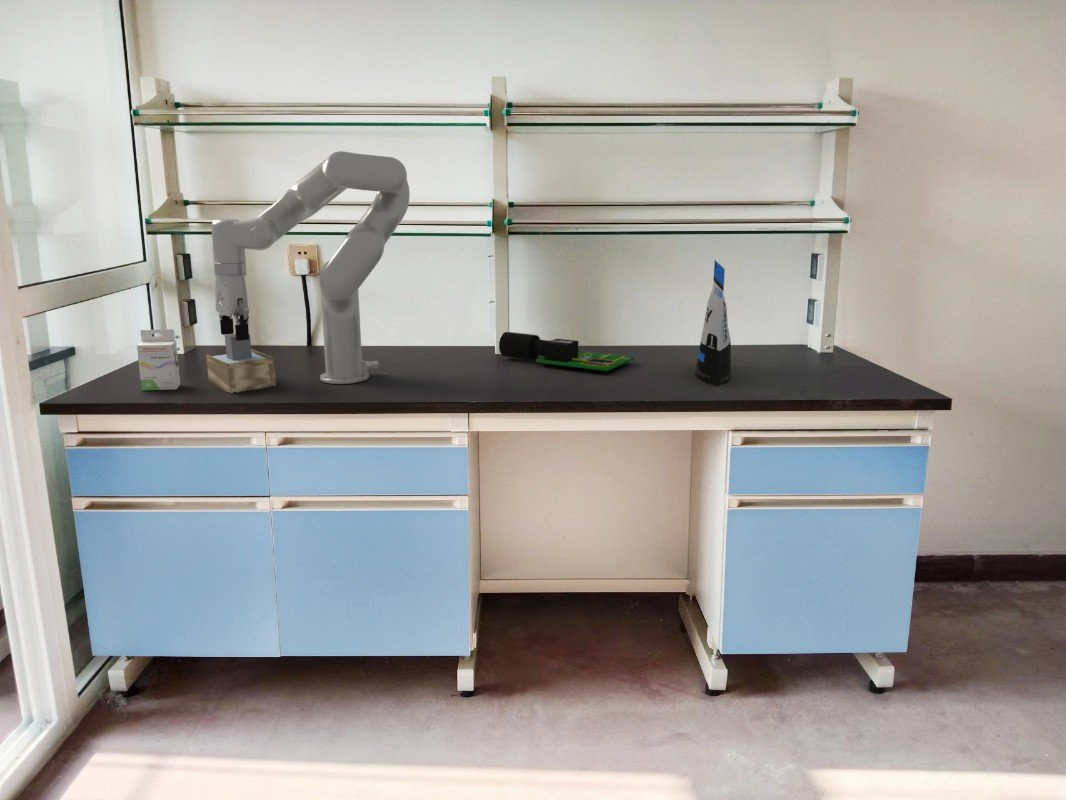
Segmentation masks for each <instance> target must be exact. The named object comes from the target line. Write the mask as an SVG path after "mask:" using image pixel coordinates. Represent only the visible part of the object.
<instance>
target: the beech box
mask: <svg viewBox="0 0 1066 800" xmlns="http://www.w3.org/2000/svg"><path fill="white" fill-rule="evenodd" d="M251 351H252V353H254V354H257V355H259V356H262V357H265V358H263V359H256V360H249V361H242V362H235V363H226V362H224V361H221V360H219V359H216V358H214V357H212V356H213V355H212V356H211V355H210V354H206V367H207V376H208V383H209V384H210V385H212V386H214V387H216V388H218V389H221V390H222V391H224V392H226V393H228V392H229V394H234V392H236V393H241V391H242V392H248V391H252V390H258V389H265V388H270V387H276V386H277V381H276V370H275V358H274V357H273V356H272V355H269V354H266V353H263V352H260V351H257V350H255V349H252V348H251ZM247 390H248V391H247Z"/></svg>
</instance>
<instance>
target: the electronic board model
mask: <svg viewBox="0 0 1066 800" xmlns="http://www.w3.org/2000/svg"><path fill="white" fill-rule="evenodd" d="M498 348H499V349H498V350H499V353H500V355H501V356H502V357H507V358H508V357H509V358H515V359H524V360H531V361H535V362H536V363H539V364H544V368H549V369H550V368H551V369H558V370H569V369H571V368H573V367H574V368H580V369H589V370H596V371H597V370H598V371H603V372H609V371H611V370H613V369H616V368H617V367H619V366H623V365H625V364H627V363H629V362H631V361H634V360H635V357H634V356H626V355H617V354H611V353H610V354H608V353H601V352H592V351H582V350H579V340H573V339H566V338H565V339H564V338H563V339H562V338H555V339H551V340H547V339H546V340H545V339H541V338H540V336H539V335H538V334H537V335H536V334H533V333H532V334H531V333H526V332H525V333H523V332H514V331H505V332H503V333H502V335H501V336H500V338H499V342H498ZM539 357H541V358H539ZM538 358H539V359H538Z"/></svg>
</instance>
